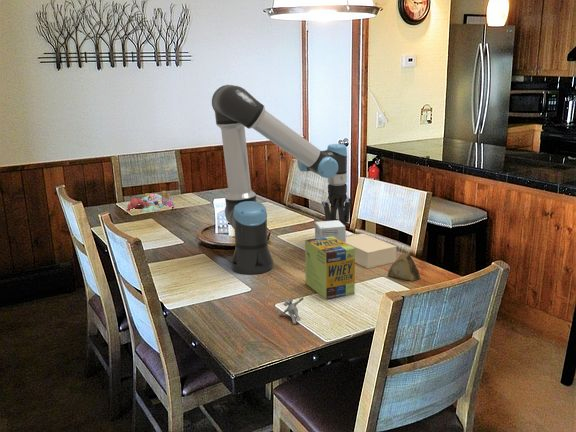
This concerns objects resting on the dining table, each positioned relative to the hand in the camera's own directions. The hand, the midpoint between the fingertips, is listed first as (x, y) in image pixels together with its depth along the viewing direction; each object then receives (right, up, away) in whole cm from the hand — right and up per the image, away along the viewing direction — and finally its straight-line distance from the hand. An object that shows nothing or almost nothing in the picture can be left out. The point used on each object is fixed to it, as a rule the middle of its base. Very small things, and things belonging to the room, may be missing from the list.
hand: (337, 240), depth 226 cm
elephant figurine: (-18, -20, -64) cm, 70 cm away
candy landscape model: (-92, +13, +66) cm, 114 cm away
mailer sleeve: (+9, -6, -15) cm, 19 cm away
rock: (+19, -11, -35) cm, 42 cm away
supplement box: (-5, -9, -26) cm, 28 cm away
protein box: (-6, -14, -44) cm, 46 cm away
